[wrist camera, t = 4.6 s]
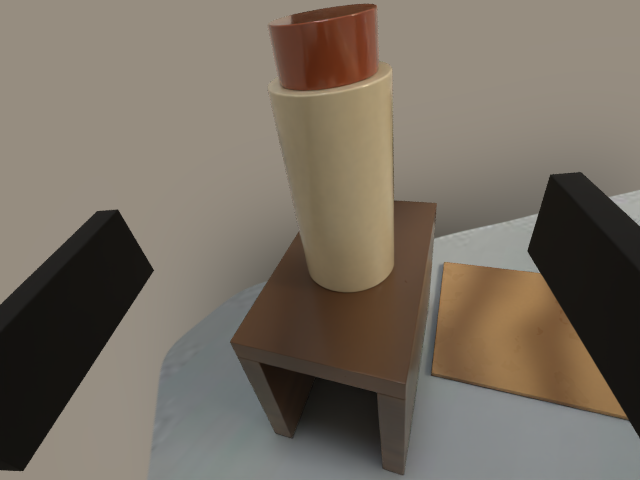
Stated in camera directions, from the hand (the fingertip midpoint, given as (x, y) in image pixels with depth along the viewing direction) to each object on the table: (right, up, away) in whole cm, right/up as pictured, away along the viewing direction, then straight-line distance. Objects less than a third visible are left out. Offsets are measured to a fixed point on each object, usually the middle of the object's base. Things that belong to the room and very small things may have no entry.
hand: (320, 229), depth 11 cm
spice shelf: (+4, -11, +20) cm, 23 cm away
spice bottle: (+2, -2, +13) cm, 13 cm away
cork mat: (+21, -8, +20) cm, 30 cm away
